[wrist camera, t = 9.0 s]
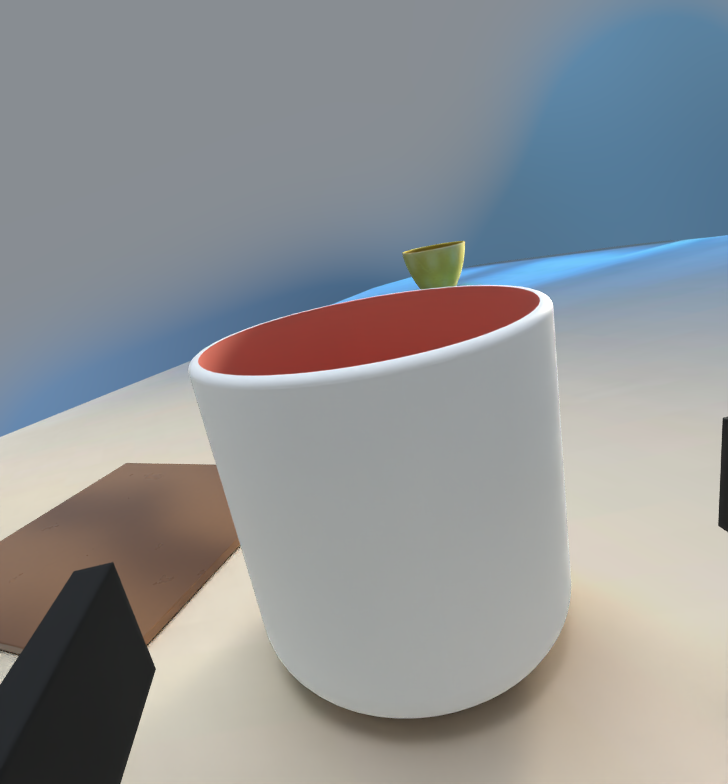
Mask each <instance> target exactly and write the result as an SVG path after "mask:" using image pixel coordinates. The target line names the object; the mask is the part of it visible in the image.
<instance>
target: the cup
mask: <svg viewBox="0 0 728 784" xmlns="http://www.w3.org/2000/svg"><path fill="white" fill-rule="evenodd" d="M188 372H189V376H190V379H191V383H192V386H193V389H194V393H195V396H196V399H197V403H198V406H199V409H200V413H201V416H202V419H203V423H204V426H205V429H206V432H207V436H208V439H209V442H210V446H211V449H212V452H213V456H214V459H215V462H216V466H217V469H218V472H219V476H220V479H221V482H222V486H223V489H224V492H225V496H226V499H227V502H228V506H229V509H230V512H231V516H232V519H233V522H234V526H235V529H236V532H237V536H238V539H239V542H240V546H241V549H242V552H243V556H244V559H245V562H246V566H247V569H248V572H249V576H250V579H251V582H252V586H253V589H254V592H255V596H256V599H257V602H258V606H259V609H260V612H261V616H262V619H263V622H264V626H265V629H266V632H267V635H268V638H269V641H270V643H271V645H272V647H273V649H274V651H275V652H276V654H277V656H278V658H279V659H280V661H281V662H282V663H283V664H284V666H285V667H286V668H287V670H288V671H289V672H290V673H291V674H292V675H293V676H294V677H295V678H296V679H297V680H298V681H299V682H300V683H301V684H302V685H304V686H305V687H307V688H308V689H310V690H311V691H312V692H314V693H315V694H317V695H318V696H320V697H322V698H323V699H325V700H327V701H329V702H331V703H333V704H335V705H337V706H340V707H343V708H346V709H348V710H351V711H354V712H358V713H362V714H367V715H372V716H376V717H387V718H424V717H433V716H440V715H444V714H449V713H454V712H458V711H461V710H464V709H467V708H470V707H474V706H476V705H478V704H481V703H483V702H486V701H488V700H490V699H492V698H494V697H496V696H498V695H500V694H502V693H503V692H505V691H507V690H508V689H510V688H511V687H513V686H514V685H516V684H517V683H518V682H520V681H521V680H522V679H523V678H525V677H526V676H527V675H528V674H529V673H530V672H531V671H532V670H533V669H534V668H535V667H536V666H537V665H538V664H539V663H540V662H541V661H542V659H543V658H544V657H545V656H546V655H547V653H548V652H549V651H550V649H551V648H552V646H553V645H554V643H555V642H556V640H557V638H558V636H559V634H560V632H561V630H562V628H563V625H564V622H565V620H566V617H567V613H568V609H569V604H570V598H571V572H570V557H569V541H568V526H567V511H566V496H565V480H564V465H563V450H562V434H561V419H560V404H559V389H558V373H557V358H556V343H555V327H554V312H553V303H552V301H551V300H550V298H549V297H548V296H547V295H545V294H544V293H542V292H539V291H536V290H533V289H530V288H524V287H517V286H504V285H470V286H453V287H441V288H431V289H422V290H414V291H406V292H399V293H392V294H386V295H380V296H374V297H368V298H363V299H358V300H352V301H347V302H343V303H338V304H333V305H329V306H324V307H320V308H316V309H312V310H308V311H304V312H300V313H296V314H292V315H289V316H285V317H282V318H278V319H275V320H272V321H268V322H265V323H262V324H259V325H256V326H253V327H250V328H248V329H245V330H242V331H240V332H237V333H235V334H232V335H230V336H227V337H225V338H223V339H221V340H219V341H217V342H215V343H213V344H211V345H210V346H208V347H206V348H205V349H203V350H202V351H200V352H199V353H198V354H197V355H196V356H195V357H194V358H193V359H192V361H191V362H190V364H189V369H188Z"/></svg>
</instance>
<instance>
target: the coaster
mask: <svg viewBox="0 0 728 784" xmlns="http://www.w3.org/2000/svg"><path fill="white" fill-rule="evenodd" d="M239 546H240V542H239V539H238V536H237V532H236V529H235V526H234V522H233V519H232V516H231V512H230V509H229V506H228V502H227V499H226V496H225V492H224V489H223V486H222V482H221V479H220V476H219V472H218V469H217V466H216V465H203V464H145V463H126V464H124V465H123V466H121V467H119V468H118V469H116V470H114V471H113V472H111V473H110V474H108V475H106V476H105V477H103V478H102V479H100V480H98V481H97V482H95V483H94V484H92V485H90V486H89V487H87V488H85V489H84V490H82V491H81V492H79V493H77V494H76V495H74V496H73V497H71V498H69V499H68V500H66V501H65V502H63V503H61V504H60V505H58V506H57V507H55V508H53V509H52V510H50V511H48V512H47V513H45V514H44V515H42V516H40V517H39V518H37V519H36V520H34V521H32V522H31V523H29V524H28V525H26V526H24V527H23V528H21V529H19V530H18V531H16V532H15V533H13V534H11V535H10V536H8V537H7V538H5V539H3V540H2V541H0V650H4V651H8V652H12V653H16V654H21V652H22V650H23V649H24V647H25V646H26V644H27V643H28V641H29V640H30V638H31V637H32V635H33V633H34V632H35V630H36V629H37V627H38V626H39V624H40V623H41V621H42V620H43V618H44V616H45V615H46V613H47V612H48V610H49V609H50V607H51V606H52V604H53V602H54V601H55V599H56V598H57V596H58V595H59V593H60V592H61V590H62V589H63V587H64V585H65V584H66V582H67V581H68V579H69V578H70V576H71V575H72V573H73V572H74V571H77V570H81V569H85V568H89V567H94V566H98V565H102V564H106V563H111V562H113V563H114V565H115V568H116V570H117V573H118V575H119V578H120V580H121V583H122V585H123V588H124V590H125V593H126V595H127V598H128V600H129V603H130V605H131V608H132V610H133V613H134V615H135V618H136V621H137V623H138V626H139V628H140V631H141V633H142V636H143V638H144V641H145V643H146V645H147V644H148V643H149V642H150V641H151V640H152V639H153V638H154V637H155V636H156V635H157V634H158V632H159V631H160V630H161V629H162V628H163V627H164V626H165V625H166V624H167V623H168V622H169V621H170V620H171V619H172V617H173V616H174V615H175V614H176V613H177V612H178V611H179V610H180V609H181V608H182V607H183V606H184V605H185V604H186V602H187V601H188V600H189V599H190V598H191V597H192V596H193V595H194V594H195V593H196V592H197V591H198V590H199V588H200V587H201V586H202V585H203V584H204V583H205V582H206V581H207V580H208V579H209V578H210V577H211V576H212V575H213V573H214V572H215V571H216V570H217V569H218V568H219V567H220V566H221V565H222V564H223V563H224V562H225V561H226V559H227V558H228V557H229V556H230V555H231V554H232V553H233V552H234V551H235V550H236V549H237V548H238V547H239Z"/></svg>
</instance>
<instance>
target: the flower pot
mask: <svg viewBox="0 0 728 784" xmlns="http://www.w3.org/2000/svg"><path fill="white" fill-rule="evenodd" d="M464 252H465V241H458V242H449V243H442V244H436V245H431V246H426V247H421V248H417V249H413V250H409V251H405V252H403V253H402V254H403V258H404V261H405V263H406V266H407V268H408V270H409V272H410V274H411V276H412V278H413V279H414V281H415V282H416V284H417V285H418V287H419V288H420V289H421V290H422V289H431V288H441V287H453V286H456V284H457V282H458V279H459V277H460V274H461V270H462V266H463V260H464Z"/></svg>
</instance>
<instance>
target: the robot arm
mask: <svg viewBox="0 0 728 784" xmlns="http://www.w3.org/2000/svg"><path fill="white" fill-rule="evenodd" d="M718 526H720V527H721V528H723V529H724V530H725V531H727V532H728V417H724V418H723V425H722V450H721V474H720V498H719V523H718ZM155 670H156V668H155V666H154V663H153V661H152V658H151V656H150V653H149V651H148V648H147V646H146V643H145V641H144V638H143V636H142V633H141V631H140V628H139V626H138V623H137V621H136V618H135V615H134V613H133V610H132V608H131V605H130V603H129V600H128V598H127V595H126V593H125V590H124V588H123V585H122V583H121V580H120V578H119V575H118V573H117V570H116V568H115V565H114V563H113V562H111V563H106V564H102V565H98V566H94V567H89V568H85V569H81V570H77V571H74V572H73V573H72V575H71V576H70V578H69V579H68V581H67V582H66V584H65V585H64V587H63V589H62V590H61V592H60V593H59V595H58V596H57V598H56V599H55V601H54V602H53V604H52V606H51V607H50V609H49V610H48V612H47V613H46V615H45V616H44V618H43V620H42V621H41V623H40V624H39V626H38V627H37V629H36V630H35V632H34V633H33V635H32V637H31V638H30V640H29V641H28V643H27V644H26V646H25V647H24V649H23V650H22V652H21V654H20V655H19V657H18V658H17V660H16V661H15V663H14V664H13V666H12V668H11V669H10V671H9V672H8V674H7V675H6V677H5V678H4V680H3V681H2V683H1V685H0V784H120V783H121V780H122V777H123V773H124V770H125V767H126V764H127V760H128V757H129V754H130V751H131V747H132V744H133V741H134V738H135V734H136V731H137V728H138V725H139V722H140V718H141V715H142V712H143V709H144V705H145V702H146V699H147V696H148V692H149V689H150V686H151V683H152V679H153V676H154V673H155Z"/></svg>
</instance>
